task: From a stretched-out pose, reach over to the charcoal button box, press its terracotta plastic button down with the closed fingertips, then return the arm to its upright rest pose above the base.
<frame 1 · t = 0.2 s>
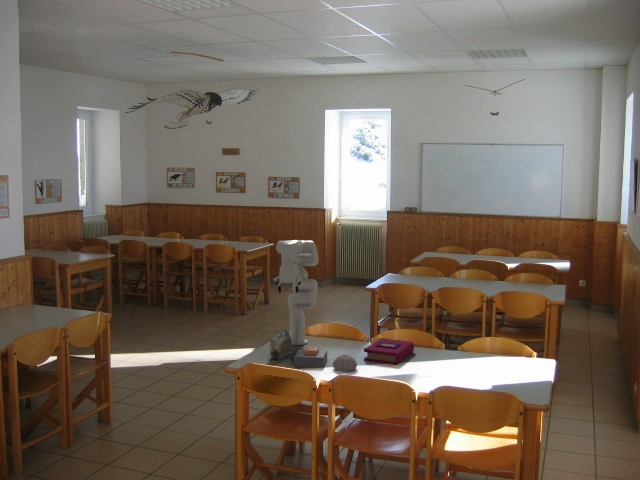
hand: (288, 292, 390), 36 cm above the table, tool pointing down, fingers open, 9 cm apart
button box: (311, 362, 376), on the table
button: (311, 351, 375), point 6 cm above the table, slide at 0.0 cm
sea urchin shell: (344, 369, 363), on the table
book: (389, 357, 386), on the table
fossil rock: (278, 356, 389), on the table
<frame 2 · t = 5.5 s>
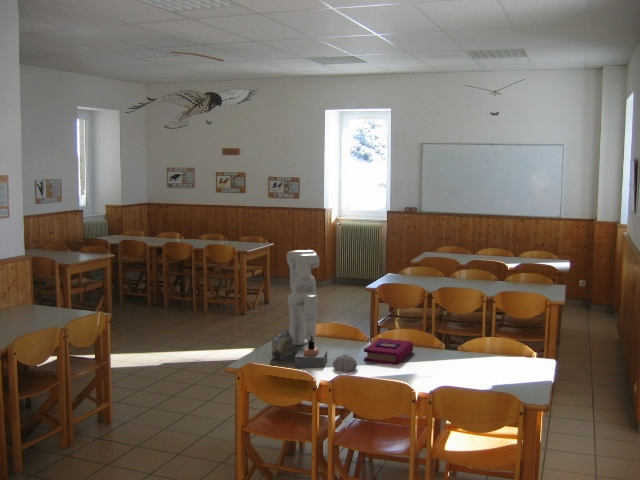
hand: (311, 348, 374), 8 cm above the table, tool pointing down, fingers closed
button: (311, 351, 375), point 6 cm above the table, slide at 0.0 cm, touching gripper
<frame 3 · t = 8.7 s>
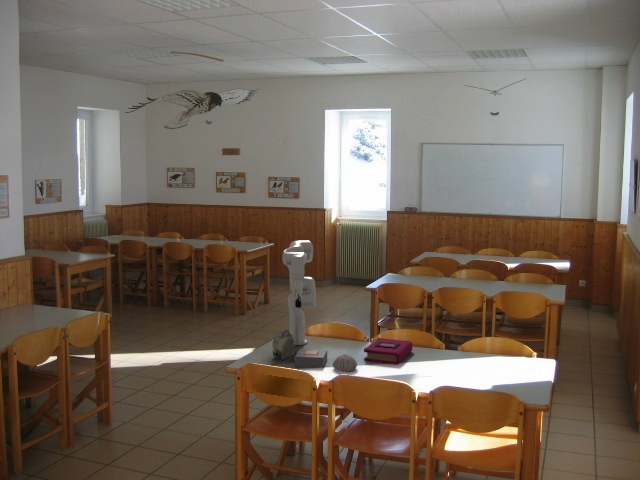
hand: (298, 307, 386), 29 cm above the table, tool pointing down, fingers closed
button: (311, 355, 375), point 4 cm above the table, slide at 2.2 cm
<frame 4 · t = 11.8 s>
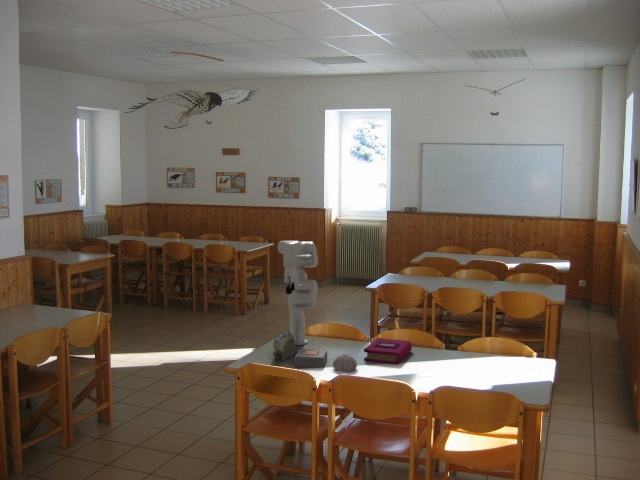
hand: (290, 292, 392), 36 cm above the table, tool pointing down, fingers open, 9 cm apart
at the end: button slide at 2.2 cm; fossil rock moved 2.2 cm from its start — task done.
